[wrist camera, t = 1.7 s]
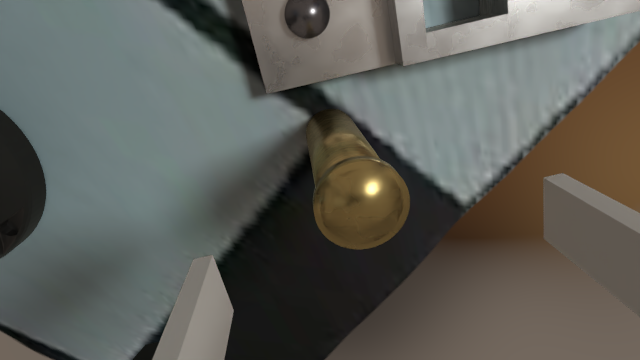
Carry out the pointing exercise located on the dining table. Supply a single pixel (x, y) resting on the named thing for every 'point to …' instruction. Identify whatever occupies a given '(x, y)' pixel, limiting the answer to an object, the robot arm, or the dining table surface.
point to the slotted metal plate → (393, 32)
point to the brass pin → (353, 184)
